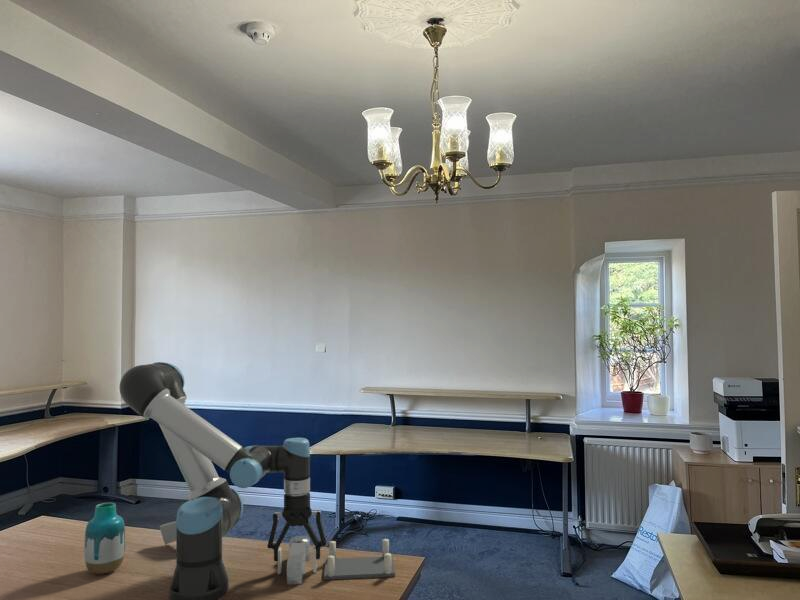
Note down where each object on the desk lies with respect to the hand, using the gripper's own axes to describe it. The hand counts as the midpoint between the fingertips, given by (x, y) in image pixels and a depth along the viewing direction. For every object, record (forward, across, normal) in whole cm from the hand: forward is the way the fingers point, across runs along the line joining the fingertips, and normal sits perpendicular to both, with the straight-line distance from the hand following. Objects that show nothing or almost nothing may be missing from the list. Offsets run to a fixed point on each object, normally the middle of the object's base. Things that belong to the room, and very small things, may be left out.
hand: (297, 571), depth 168 cm
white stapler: (-2, -44, +25) cm, 51 cm away
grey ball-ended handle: (0, 0, +2) cm, 2 cm away
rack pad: (0, +18, 0) cm, 18 cm away
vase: (0, -56, +6) cm, 56 cm away
